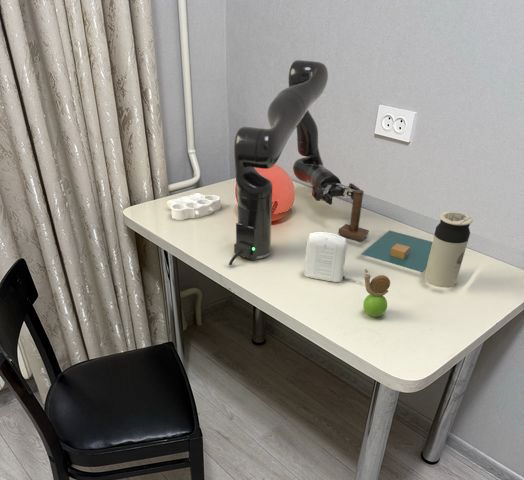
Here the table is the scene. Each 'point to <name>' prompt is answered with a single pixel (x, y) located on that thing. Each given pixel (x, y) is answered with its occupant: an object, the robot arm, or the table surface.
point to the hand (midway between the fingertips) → (344, 200)
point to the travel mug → (448, 249)
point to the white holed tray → (193, 206)
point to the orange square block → (400, 251)
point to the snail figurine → (376, 294)
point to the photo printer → (325, 256)
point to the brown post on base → (354, 220)
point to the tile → (418, 246)
